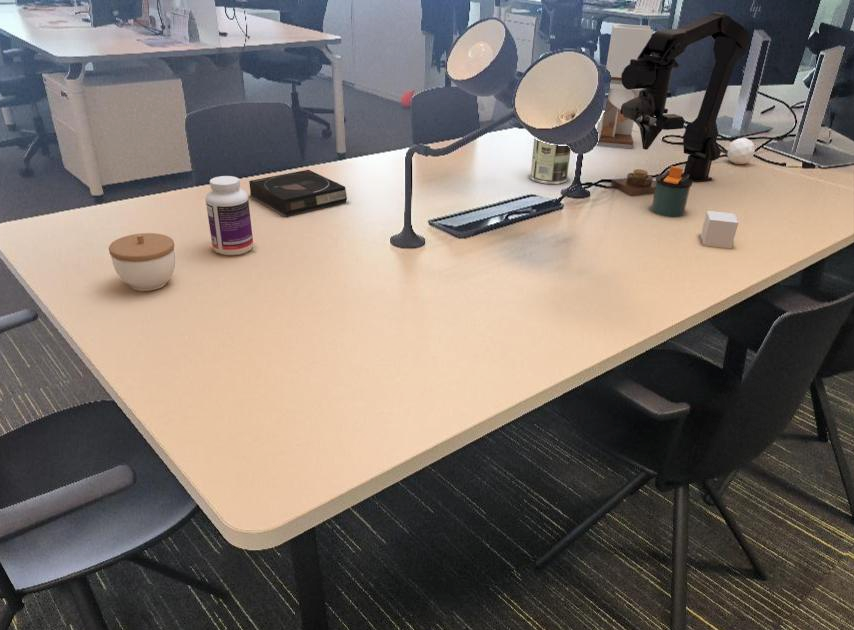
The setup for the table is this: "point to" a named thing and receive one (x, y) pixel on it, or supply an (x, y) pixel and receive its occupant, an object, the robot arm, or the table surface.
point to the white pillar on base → (621, 50)
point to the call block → (635, 185)
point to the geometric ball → (741, 151)
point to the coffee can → (549, 163)
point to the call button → (640, 173)
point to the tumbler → (671, 196)
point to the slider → (674, 175)
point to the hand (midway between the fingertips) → (645, 149)
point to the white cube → (719, 229)
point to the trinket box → (144, 260)
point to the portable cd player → (297, 192)
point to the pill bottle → (229, 216)
